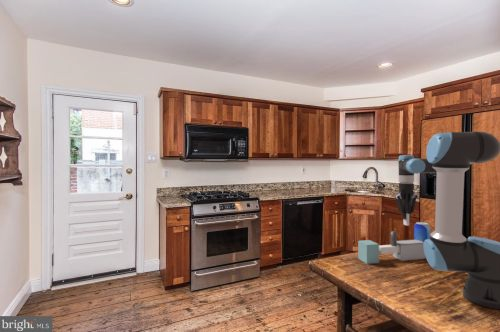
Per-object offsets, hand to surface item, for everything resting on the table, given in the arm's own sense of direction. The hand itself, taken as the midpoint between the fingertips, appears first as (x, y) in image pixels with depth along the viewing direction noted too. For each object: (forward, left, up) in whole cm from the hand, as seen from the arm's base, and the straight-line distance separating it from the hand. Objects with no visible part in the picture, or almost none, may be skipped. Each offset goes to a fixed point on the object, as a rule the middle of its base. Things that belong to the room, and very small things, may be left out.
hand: (406, 224), depth 152 cm
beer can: (+11, -20, -19) cm, 29 cm away
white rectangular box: (0, -1, -18) cm, 18 cm away
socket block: (0, +24, -18) cm, 30 cm away
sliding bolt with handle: (0, +5, -15) cm, 15 cm away
